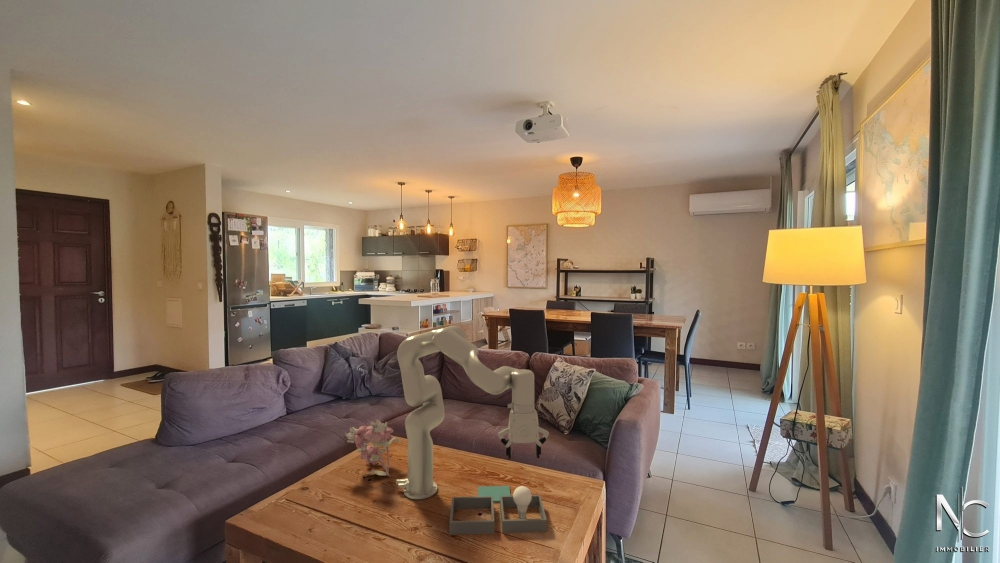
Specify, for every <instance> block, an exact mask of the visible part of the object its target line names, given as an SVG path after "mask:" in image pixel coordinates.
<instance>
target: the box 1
mask: <svg viewBox="0 0 1000 563" xmlns="http://www.w3.org/2000/svg"><path fill="white" fill-rule="evenodd" d="M451 498H452V499H451V505H450V506H451V507H450V514H449V523H448V524H449V528H448V529H449V533H448V534H449V535H450V536H451V535H453V536H454V535H456V536H457V535H482V534H483V535H485V534H487V535H489V534H495V512H494V511H495V510H494V509H495V508H494V503H493V496H480V497H478V496H452V497H451ZM474 509H475V510H478V509H479V510H480V509H483V510H484V509H490V516H491V517H490V518H491V519H488V520H487V519H484V520H482V519H481V520H454V514H455V510H474Z"/></svg>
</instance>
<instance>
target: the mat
mask: <svg viewBox="0 0 1000 563" xmlns="http://www.w3.org/2000/svg"><path fill="white" fill-rule="evenodd" d="M477 492H478V494H477V497H480V496H493V504H494V503H500V496H511V489H510V485H490V486H489V485H487V486H486V485H485V486H484V485H483V486H480V485H479V486H477Z"/></svg>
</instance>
